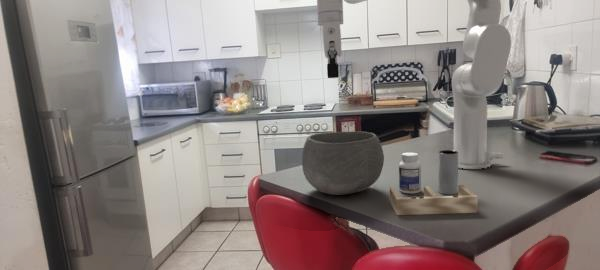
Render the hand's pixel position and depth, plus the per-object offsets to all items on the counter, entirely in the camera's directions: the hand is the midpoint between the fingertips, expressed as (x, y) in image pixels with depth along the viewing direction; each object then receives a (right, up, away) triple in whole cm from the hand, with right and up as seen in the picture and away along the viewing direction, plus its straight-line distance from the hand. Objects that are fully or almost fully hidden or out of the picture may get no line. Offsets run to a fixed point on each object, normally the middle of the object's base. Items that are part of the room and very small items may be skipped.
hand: (332, 77), depth 121 cm
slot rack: (+20, -34, -31) cm, 50 cm away
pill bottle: (+18, -32, -18) cm, 41 cm away
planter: (+27, -32, -21) cm, 47 cm away
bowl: (+1, -33, -16) cm, 37 cm away
